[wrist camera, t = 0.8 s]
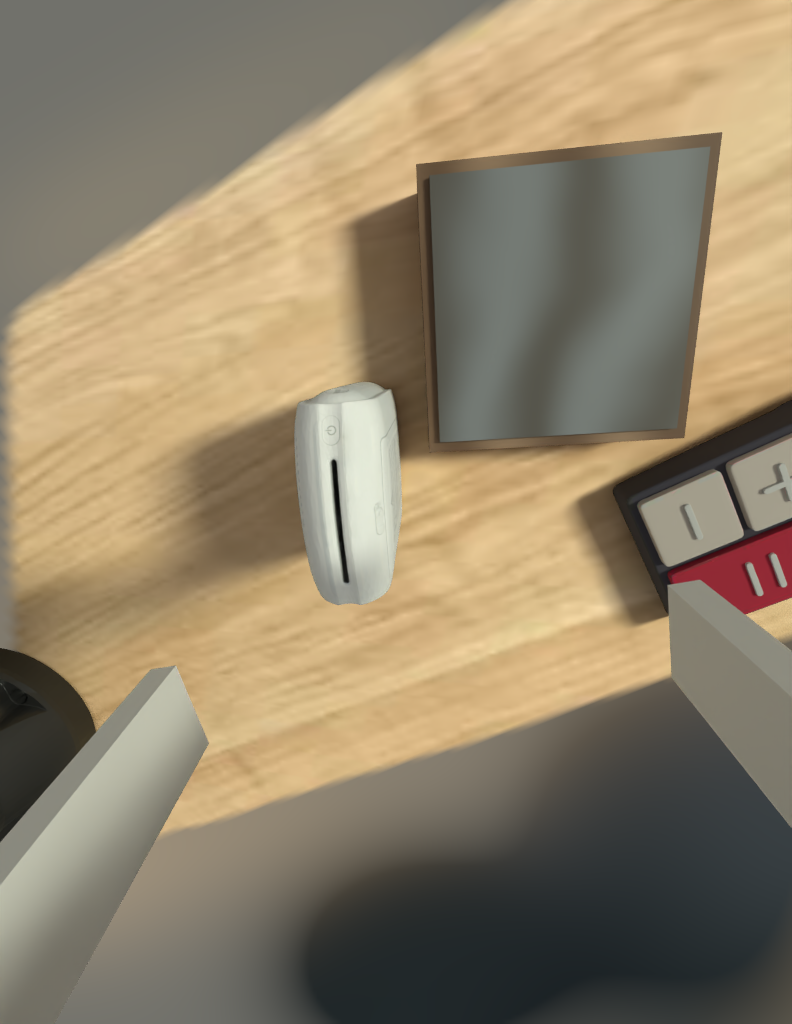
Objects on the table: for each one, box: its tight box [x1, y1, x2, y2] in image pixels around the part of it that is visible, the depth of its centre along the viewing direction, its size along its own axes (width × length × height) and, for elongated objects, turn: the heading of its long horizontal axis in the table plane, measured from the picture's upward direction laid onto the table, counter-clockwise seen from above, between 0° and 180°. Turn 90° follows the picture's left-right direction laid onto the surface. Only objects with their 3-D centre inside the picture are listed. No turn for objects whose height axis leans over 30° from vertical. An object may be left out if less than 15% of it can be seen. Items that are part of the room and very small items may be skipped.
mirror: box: [416, 132, 722, 452], centre depth 26 cm, size 14×14×4 cm
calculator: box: [613, 400, 792, 614], centre depth 29 cm, size 11×4×15 cm
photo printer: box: [294, 382, 402, 605], centre depth 25 cm, size 10×4×12 cm, turn 3°
